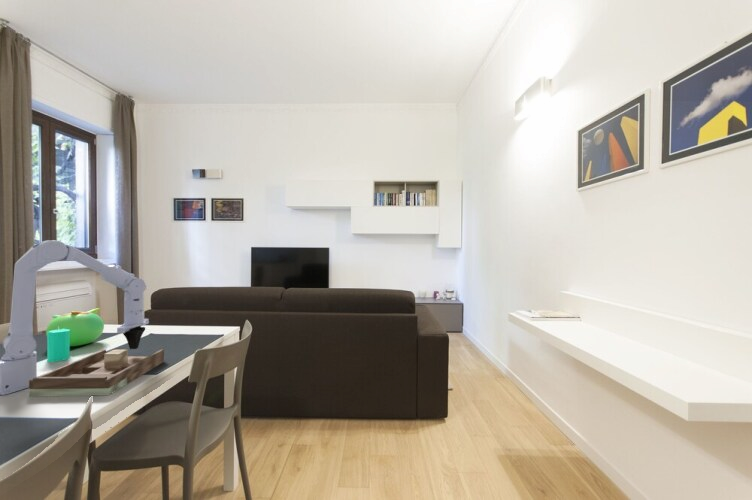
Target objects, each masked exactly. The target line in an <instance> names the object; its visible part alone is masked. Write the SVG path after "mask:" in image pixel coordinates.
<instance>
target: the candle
mask: <svg viewBox="0 0 752 500" xmlns="http://www.w3.org/2000/svg"><path fill="white" fill-rule="evenodd" d="M46 340H47V342H46V343H47V344H46V346H47V348H46V351H47V353H46V355H47V357H46V358H47V359H46V360H47V361H46V362H49V363H55V362H61V361H66V360H68V359H70V353H71V352H70V351H71V349H70V348H71V347H70V329H59V326H58V329H57V330H52V331H49V332H47V336H46Z"/></svg>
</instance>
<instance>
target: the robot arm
mask: <svg viewBox="0 0 752 500" xmlns="http://www.w3.org/2000/svg"><path fill="white" fill-rule="evenodd" d="M61 260H63V261H67V262H69V261H70V262H71V261H72V262H76V263H78V264H80V265H82V266H85V267H87V268H89V269H91V270H92V271H95V272H97V273H99V275H100V278H101V280H104V281H105V282H107V283H109V284H111V285H113V286H115V287H117V288H119V289H121V290H122V291H123V293H124V296H123V298H124V299H123V323H122V325H120V326H119V327H117V329H116V333H117V334H119V335H120V334H122V335H123V336H124V337H125V339H126V342H127V345H128V348H129V350H137V349H139V346H140V341H141V338H142V336H143V334H144V332H145V330H146V327H145V326H146V325H149V324H150V321H149V320H150V319H149V318H144V292H145V291H146V290H147V285H146V283H145V281H144V280H143V279H142V278H139V277H137V276H136V275H135V273H130V272H128V271H126V270H124V269H122V266H121V265H118V264H117V265H115V264H110V265H109V264H108V265H106V264H105V263H103V262H101V261H100V260H97V259H96V258H94V257H92V256H91V255H89V254H87V253H86V252H84V251H82V250H81V249H79V248H76V247H74V246H71V245H69V244H65V243H63V242H61V241H60V240H56V239H55V240H54V239H53V240H49V239H47V240H43V241H40V242H38V243H36V244H34V245H32V246H30V248H29V249H28V250H27V251H26V252H25V253H23V255H22V256H21V257H19V259H18V260H17V261H16V262H15V263H14V269H13V282H12V295H11V296H12V297H11V307H10V317H9V318H10V320H9V325H8V326H9V327H8V330H7V331H8V332H7V334H6V336H5V337H4V338H3V340H2V347H3V349H5V353H3V355H2V356H1V359H0V395H2V396H6V395H9V394H12V393H16V392H19V391H21V390H24V389H29V380H31V379H33V378H35V377H38V376H37V374H38V373H37V367H38V366H37V364H38V363H37V362H38V361H37V359H38V358H37V356H38V355H37V354H38V353H37V351H36V349H37V341H36V340H35V338H34V327H33V326H34V325H33V321H34V309H35V307H34V306H35V296H36V284H37V283H36V282H37V272H38V271H39V270H41V269H42V268H44V267H45V266H47V265H49V264H52V263H56V262H58V261H61Z"/></svg>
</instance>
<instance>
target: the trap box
mask: <svg viewBox="0 0 752 500" xmlns="http://www.w3.org/2000/svg"><path fill="white" fill-rule="evenodd" d="M105 353H107V349H101V350H99V351H96V352H94V353H92V354H90V355H87V356H84V357H82V358H80V359H77V360H74V361H72V362H70V363H67V364H65V365H63V366H60V367H58V368H56V369H53V370H51V371H48V372H46V373H43V374H41V375H38V376H37V377H35V378H33V379H31V380H29V387H28V397H81V396H83V397H85V396H87V397H92V396H91V395H108V396H110V395H112V394H113V393H115V392H117V391H119V390H120V389H122V388H123V387H125V386H126V385H129V384H130V383H132V382H133V381H135V380H136V379H138V378H139V377H142V376H143V375H145V374H146V373H148V372H149V371H152V370H153V369H154V368H156V367H157V366H159V365H161V364H162V363H164V362H165V360H164V359H165V357H164V356H165V349H164V348H163V349H159V350H157V351H155V352H153V353H151V354H150V355H148V356H146V355H145V356H142V355H141V356H140V355H139V356H133V355H132V356H131V355H130V356H129V355H128V363H126V364H124V365H122V366H121V367H113V368H104V354H105ZM124 385H125V386H124ZM121 387H122V388H121ZM119 388H120V389H119ZM116 390H117V391H116ZM114 391H115V392H114ZM112 392H113V393H112ZM111 393H112V394H111ZM109 394H110V395H109Z"/></svg>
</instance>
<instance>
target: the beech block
mask: <svg viewBox="0 0 752 500" xmlns="http://www.w3.org/2000/svg"><path fill="white" fill-rule="evenodd" d="M128 356H129V349H113V350H109V351H107V352H106V353H105V354H104V368H113V367H121V366H122V365H124V364H126V363H128Z"/></svg>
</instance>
